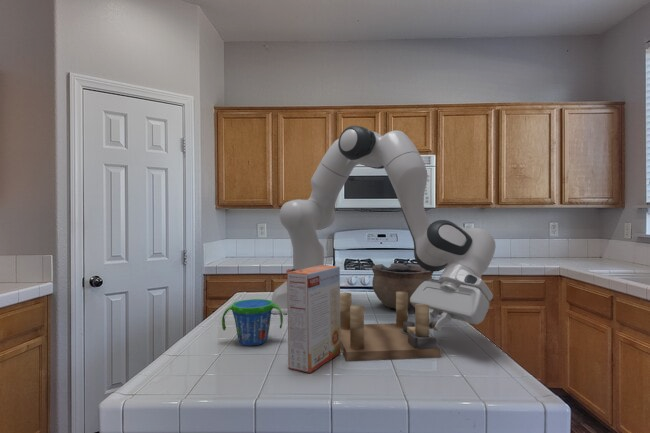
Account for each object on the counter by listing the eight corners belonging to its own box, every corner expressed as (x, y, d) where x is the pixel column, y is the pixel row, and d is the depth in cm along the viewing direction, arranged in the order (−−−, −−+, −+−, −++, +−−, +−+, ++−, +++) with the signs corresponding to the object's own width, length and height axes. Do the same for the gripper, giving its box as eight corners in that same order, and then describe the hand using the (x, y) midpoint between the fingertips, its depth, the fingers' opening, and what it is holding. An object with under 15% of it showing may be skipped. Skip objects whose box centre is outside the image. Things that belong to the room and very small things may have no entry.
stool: (346, 361, 85) (346, 310, 85) (333, 332, 107) (333, 292, 107) (440, 357, 87) (440, 307, 87) (408, 329, 109) (408, 290, 109)
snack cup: (216, 348, 93) (217, 307, 93) (228, 335, 104) (228, 298, 104) (280, 349, 93) (280, 307, 93) (285, 336, 103) (285, 298, 104)
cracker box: (320, 349, 93) (320, 264, 93) (341, 353, 90) (341, 265, 90) (285, 368, 81) (285, 270, 81) (309, 374, 78) (309, 272, 78)
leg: (401, 329, 101) (401, 295, 101) (413, 328, 102) (413, 295, 102) (418, 345, 88) (417, 306, 88) (431, 344, 89) (431, 306, 89)
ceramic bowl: (419, 300, 149) (418, 262, 150) (445, 313, 128) (445, 269, 128) (364, 302, 146) (364, 263, 146) (383, 316, 124) (382, 271, 124)
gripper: (420, 270, 103) (394, 311, 98) (487, 280, 86) (460, 330, 81) (432, 285, 106) (407, 326, 100) (499, 297, 88) (474, 347, 83)
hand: (431, 328), depth 90 cm, fingers closed
